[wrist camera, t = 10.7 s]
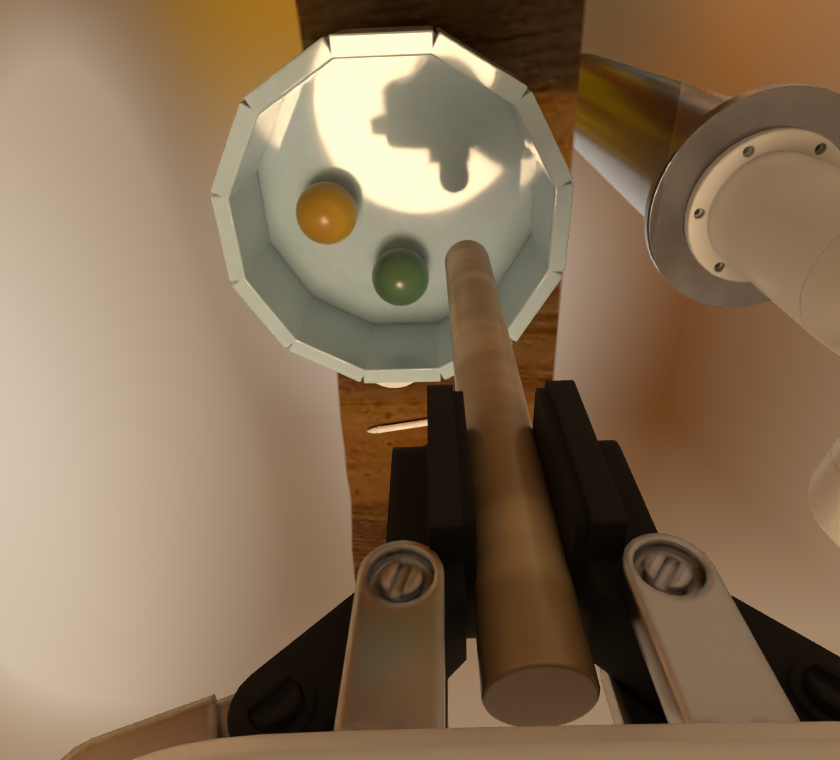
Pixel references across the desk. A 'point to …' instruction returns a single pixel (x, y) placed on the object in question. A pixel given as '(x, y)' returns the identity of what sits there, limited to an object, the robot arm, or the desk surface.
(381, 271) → the green bead
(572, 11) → the desk surface
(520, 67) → the desk surface
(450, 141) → the bowl
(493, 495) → the stick
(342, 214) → the yellow bead
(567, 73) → the desk surface
